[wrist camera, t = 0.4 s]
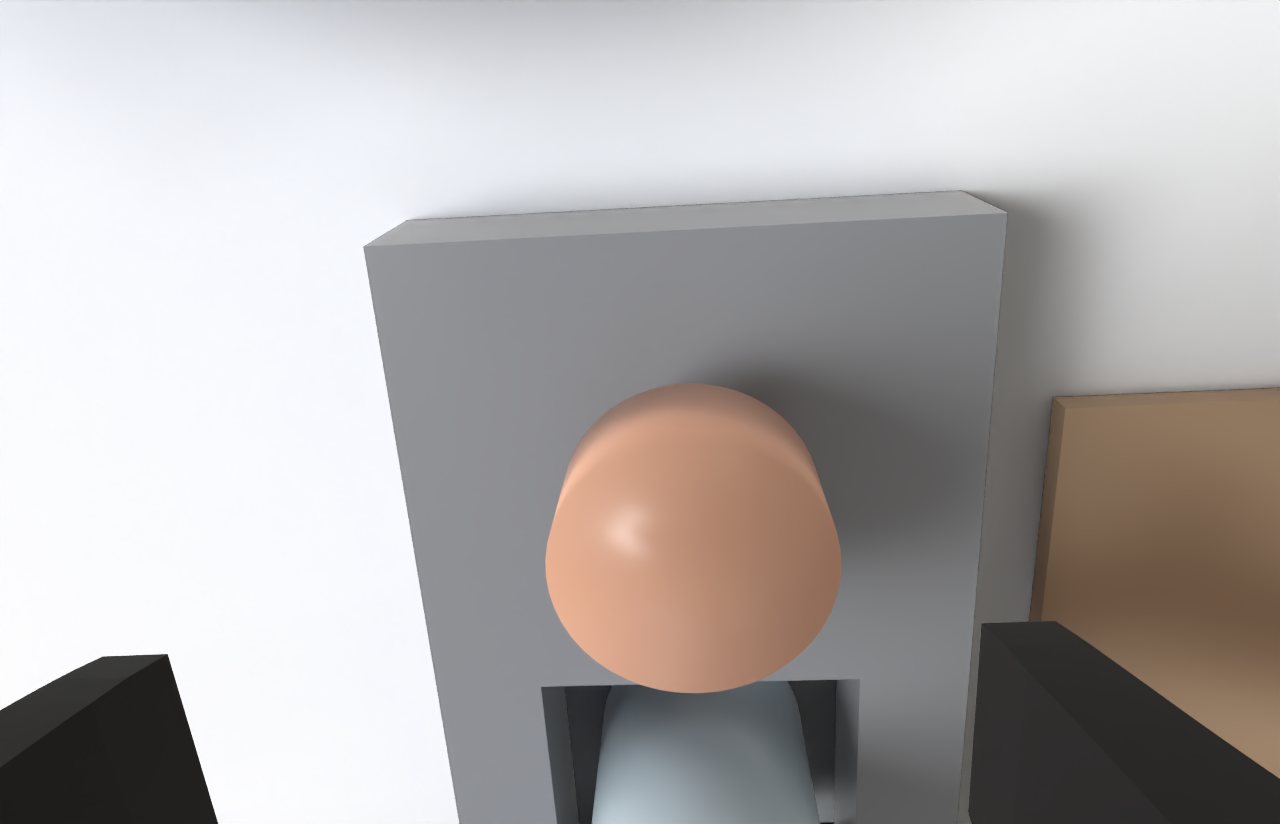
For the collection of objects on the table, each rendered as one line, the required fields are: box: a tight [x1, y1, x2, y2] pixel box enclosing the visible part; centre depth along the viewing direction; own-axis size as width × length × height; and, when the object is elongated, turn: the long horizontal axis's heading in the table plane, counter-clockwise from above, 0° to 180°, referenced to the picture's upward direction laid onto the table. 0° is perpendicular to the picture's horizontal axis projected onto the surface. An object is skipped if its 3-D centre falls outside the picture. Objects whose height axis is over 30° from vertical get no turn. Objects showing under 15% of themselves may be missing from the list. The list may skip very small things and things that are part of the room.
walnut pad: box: [1029, 388, 1280, 778], centre depth 19 cm, size 10×8×1 cm
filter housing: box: [364, 190, 1008, 824], centre depth 18 cm, size 16×10×2 cm, turn 3°
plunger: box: [545, 383, 842, 693], centre depth 13 cm, size 4×4×2 cm
